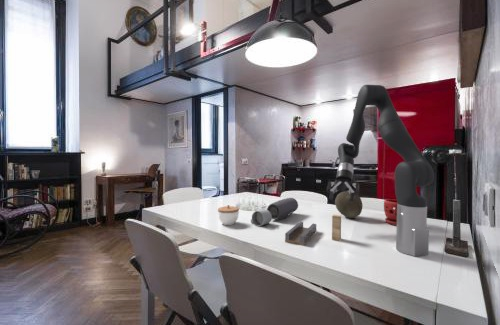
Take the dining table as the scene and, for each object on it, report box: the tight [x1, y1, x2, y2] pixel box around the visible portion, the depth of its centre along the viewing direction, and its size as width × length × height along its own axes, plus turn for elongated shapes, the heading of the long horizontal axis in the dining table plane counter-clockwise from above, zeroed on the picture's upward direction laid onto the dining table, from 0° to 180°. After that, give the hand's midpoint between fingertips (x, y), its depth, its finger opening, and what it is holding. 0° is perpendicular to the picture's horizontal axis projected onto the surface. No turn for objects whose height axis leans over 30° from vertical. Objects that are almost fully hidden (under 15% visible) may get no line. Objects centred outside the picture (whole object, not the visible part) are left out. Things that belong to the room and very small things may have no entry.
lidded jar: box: [217, 205, 240, 226], centre depth 126 cm, size 11×11×9 cm
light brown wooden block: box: [331, 213, 342, 242], centre depth 104 cm, size 4×3×10 cm
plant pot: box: [383, 199, 397, 227], centre depth 127 cm, size 13×13×12 cm
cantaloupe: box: [334, 191, 363, 219], centre depth 139 cm, size 14×14×15 cm
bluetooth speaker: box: [266, 197, 299, 220], centre depth 140 cm, size 23×9×10 cm, turn 145°
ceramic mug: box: [250, 209, 273, 227], centre depth 126 cm, size 11×8×8 cm
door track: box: [284, 221, 318, 246], centre depth 107 cm, size 20×8×4 cm, turn 152°
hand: (341, 200), depth 113 cm, fingers open, 8 cm apart
